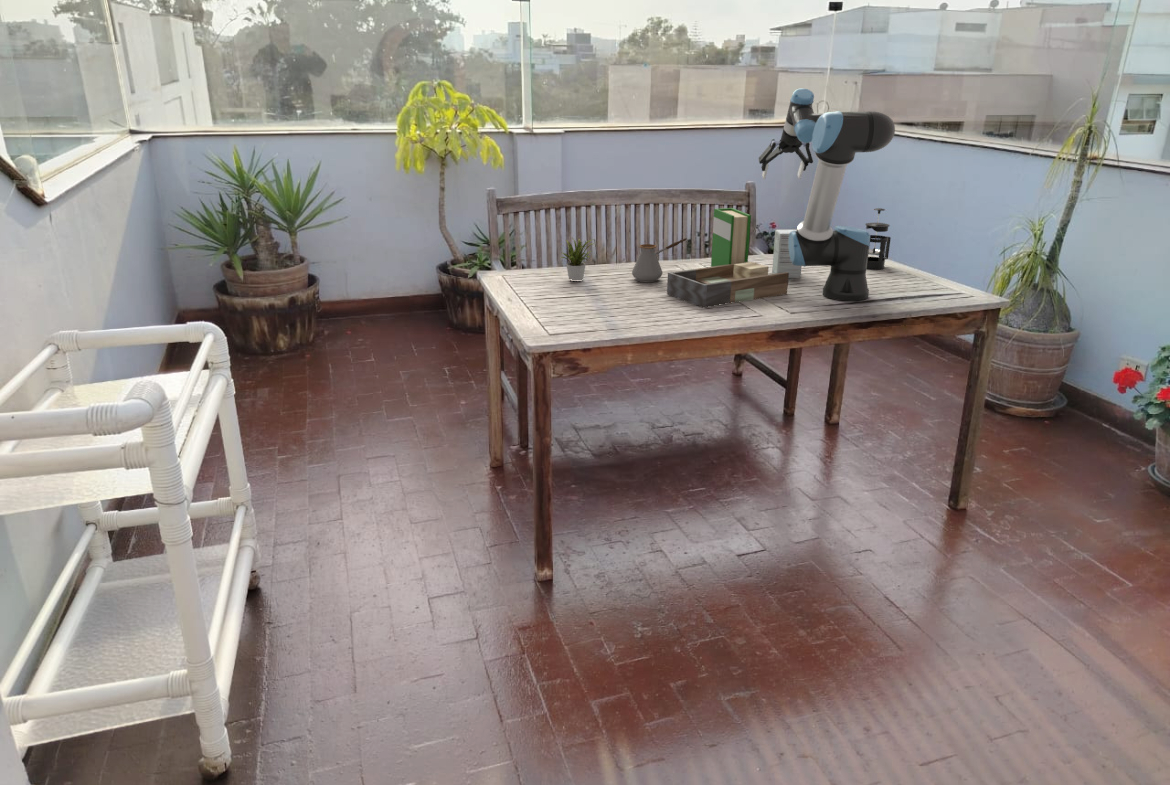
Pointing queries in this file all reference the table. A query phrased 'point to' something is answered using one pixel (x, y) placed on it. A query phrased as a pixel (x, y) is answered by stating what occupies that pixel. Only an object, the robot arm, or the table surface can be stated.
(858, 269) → the robot arm
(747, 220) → the hardback book
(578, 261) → the house plant
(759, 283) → the tray
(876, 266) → the french press
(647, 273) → the coffee pot
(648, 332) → the table surface
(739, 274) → the birch block
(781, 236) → the supplement box
